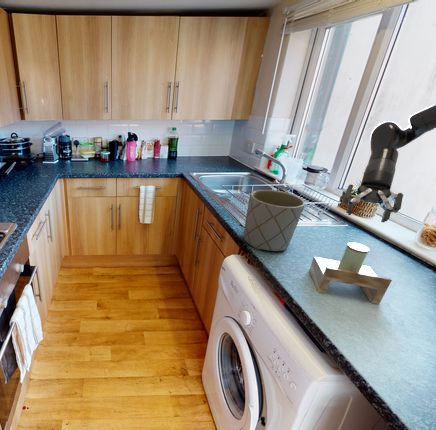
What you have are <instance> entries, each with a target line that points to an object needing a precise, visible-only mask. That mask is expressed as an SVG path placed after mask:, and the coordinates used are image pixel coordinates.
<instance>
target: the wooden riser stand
mask: <svg viewBox="0 0 436 430" xmlns="http://www.w3.org/2000/svg"><path fill="white" fill-rule="evenodd" d="M312 258H313V259H312V261H311V264H310V267H309V269H308V272H309V274H310V277H311V279H312V281H313V284H314V286H315V287H316V290H317V292H319V293H323V294H326V292H327V290H328V287H329V285H330V284H331V281H333V282H337V283H343V284H347V285H353V286H358V287H360V288H361V290H362V291H363V293H364V294H365V295H366V297H367V298H368V300H369V301H370V303H371V304H376V305H380V304H381V302H382V300H383V298H384V296H385V295H386V293H387V290H388V289H389V286H390V285H391V283H392V281H393V279H391V278H390V277H386V276H380V275H377V273H376V272H375V271H374V269H373V268H372V267H371V265H364V264H362V267H361V269H360V271H359V272H353V271H348V270H342V269H338V266H339V264H340V261H341V260H335V259H330V258H324V257H319V256H313V257H312Z"/></svg>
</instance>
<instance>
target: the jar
mask: <svg viewBox="0 0 436 430" xmlns="http://www.w3.org/2000/svg"><path fill="white" fill-rule="evenodd" d="M370 250H371V249H370V248H369V247H368V246H366V245H364V244H363V243H358V242H352V241H351V242H347V243H346V247H345V249H344V252H343V254H342V257H341V259H340V260H339V261H340V264H339V266H338V269H342V270H348V271H353V272H359V271H360V269H361V267H362V265H364V263H365V260H366V258H367V255H368V253H369V252H370Z"/></svg>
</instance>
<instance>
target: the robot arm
mask: <svg viewBox="0 0 436 430" xmlns="http://www.w3.org/2000/svg"><path fill="white" fill-rule="evenodd" d="M408 123H409V125H408V126H407V127H406V128H404V129H403V128H402V126H400V125H399V124H398V123H396V122H395V121H390V120H388V121H383V122H381V123H379V124H377V126H375V127H374V129H373V130H372V131H371V134H370V155H369V158H368V162H367V164H366V166H365V169H364V171H363V176H362V179H361V181H360V182H361V183H360V186H359V187H357V186H354V185H353V184H349V185H348V186H347V189H346V191H345V193H344V196H343V197H342V200H341V202H342V203H344V204H347V208H346V211H345V212H346V214H347V215H348V216H352V213H353V210H354V207H355V204H357V203H358V204H359V203H360V202H362V201H363V202H364V203H371V204H375V205H376V204H378V205H379V207H380V208H382V210H383V213H382V217H381V220H380V223H385V222H388V221H389V220H390V218H391V214H392V213H394V214H396V213H398V212H399V211H400V210H401V209H402V203H403V197H404V194H403V192H398V193H393V192H392V191H391V189H392V184H393V181H394V177H395V173H396V166H397V163H398V158H399V150H398V149H402V148H403V147H405V146H408V145H409V144H410V143H412V142H413V141H415V140H416V139H418V138H420V137H422V136H423V135H424V134H426V133H428V132H430V131H433V130H436V103H435V104H433V105H431V106H429V107H426V108H424V109H422V110H420V111H418V112H415V113H414V114H412V115H410V116H409V118H408ZM354 192H356V193H357V195H356V196H354V197H353V198H350V196H351V194H353V193H354ZM389 198H391V201H393V206H392V204H391V203H390V201H389Z"/></svg>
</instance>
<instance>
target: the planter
mask: <svg viewBox="0 0 436 430" xmlns="http://www.w3.org/2000/svg"><path fill="white" fill-rule="evenodd" d="M305 206H306V201H305V200H304V199H303V198H301V197H299V196H297V195H295V194H293V193H289V192H285V191H280V190H273V189H257V190H252V191H251V192H250V193H249V198H248V203H247V210H246V216H245V222H244V228H243V235H242V237H243V240H244V241H245V242H246V243H247V244H248V245H249V246H251V248H254V249H255V250H256V251H257V250H264V251H272V252H280V251H287V249H288V248H289V246H290V243H291V240H292V239H293V236H294V233H295V231H296V228H297V226H298V224H299V221H300V219H301V216H302V214H303V211H304V210H305V209H304V208H305Z"/></svg>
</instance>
